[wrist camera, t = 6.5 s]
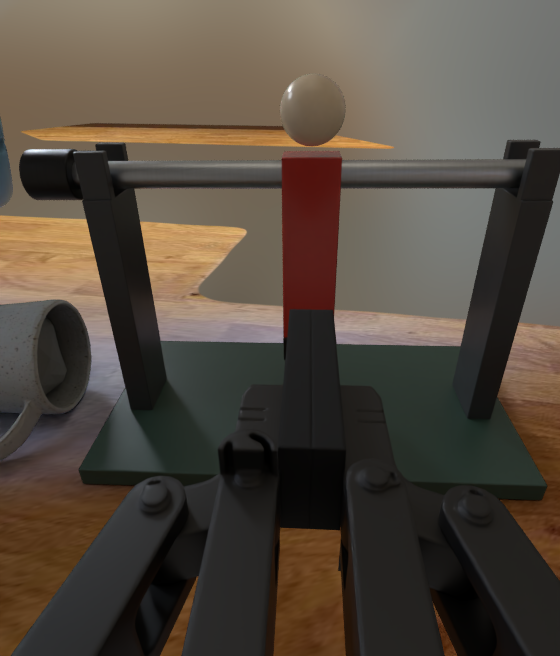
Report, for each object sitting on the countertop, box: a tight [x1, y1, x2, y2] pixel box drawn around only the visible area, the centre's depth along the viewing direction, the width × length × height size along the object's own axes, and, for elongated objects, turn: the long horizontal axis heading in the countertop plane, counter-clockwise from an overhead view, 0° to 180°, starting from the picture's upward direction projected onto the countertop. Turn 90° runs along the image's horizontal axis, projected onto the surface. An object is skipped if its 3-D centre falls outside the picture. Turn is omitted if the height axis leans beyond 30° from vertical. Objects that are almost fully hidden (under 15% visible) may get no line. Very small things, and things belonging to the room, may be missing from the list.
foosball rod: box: [19, 74, 526, 360], centre depth 26 cm, size 26×4×16 cm, turn 87°
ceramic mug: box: [0, 300, 91, 460], centre depth 30 cm, size 11×8×8 cm
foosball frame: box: [73, 140, 560, 500], centre depth 27 cm, size 26×14×17 cm, turn 87°
